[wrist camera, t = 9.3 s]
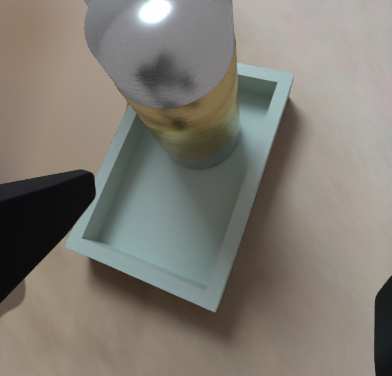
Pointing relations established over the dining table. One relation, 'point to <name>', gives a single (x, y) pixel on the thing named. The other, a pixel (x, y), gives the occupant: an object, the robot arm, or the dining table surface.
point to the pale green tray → (182, 199)
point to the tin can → (173, 71)
